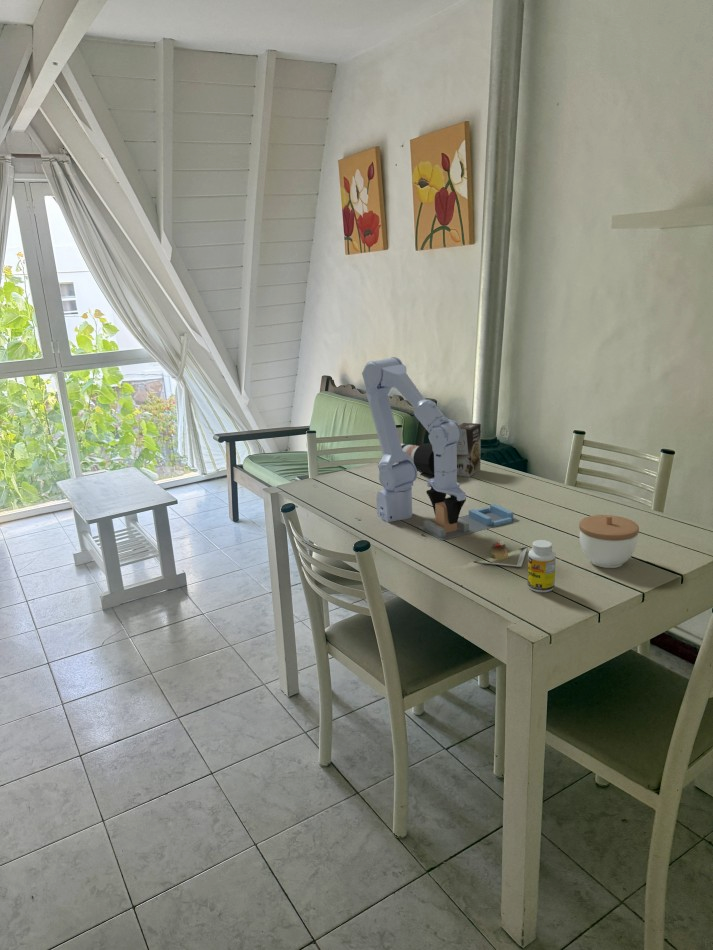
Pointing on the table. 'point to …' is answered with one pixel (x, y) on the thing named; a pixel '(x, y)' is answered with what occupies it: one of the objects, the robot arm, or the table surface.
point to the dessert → (504, 554)
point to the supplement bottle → (541, 566)
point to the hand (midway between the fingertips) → (446, 519)
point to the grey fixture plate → (472, 522)
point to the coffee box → (469, 449)
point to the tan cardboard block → (443, 517)
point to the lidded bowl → (608, 539)
